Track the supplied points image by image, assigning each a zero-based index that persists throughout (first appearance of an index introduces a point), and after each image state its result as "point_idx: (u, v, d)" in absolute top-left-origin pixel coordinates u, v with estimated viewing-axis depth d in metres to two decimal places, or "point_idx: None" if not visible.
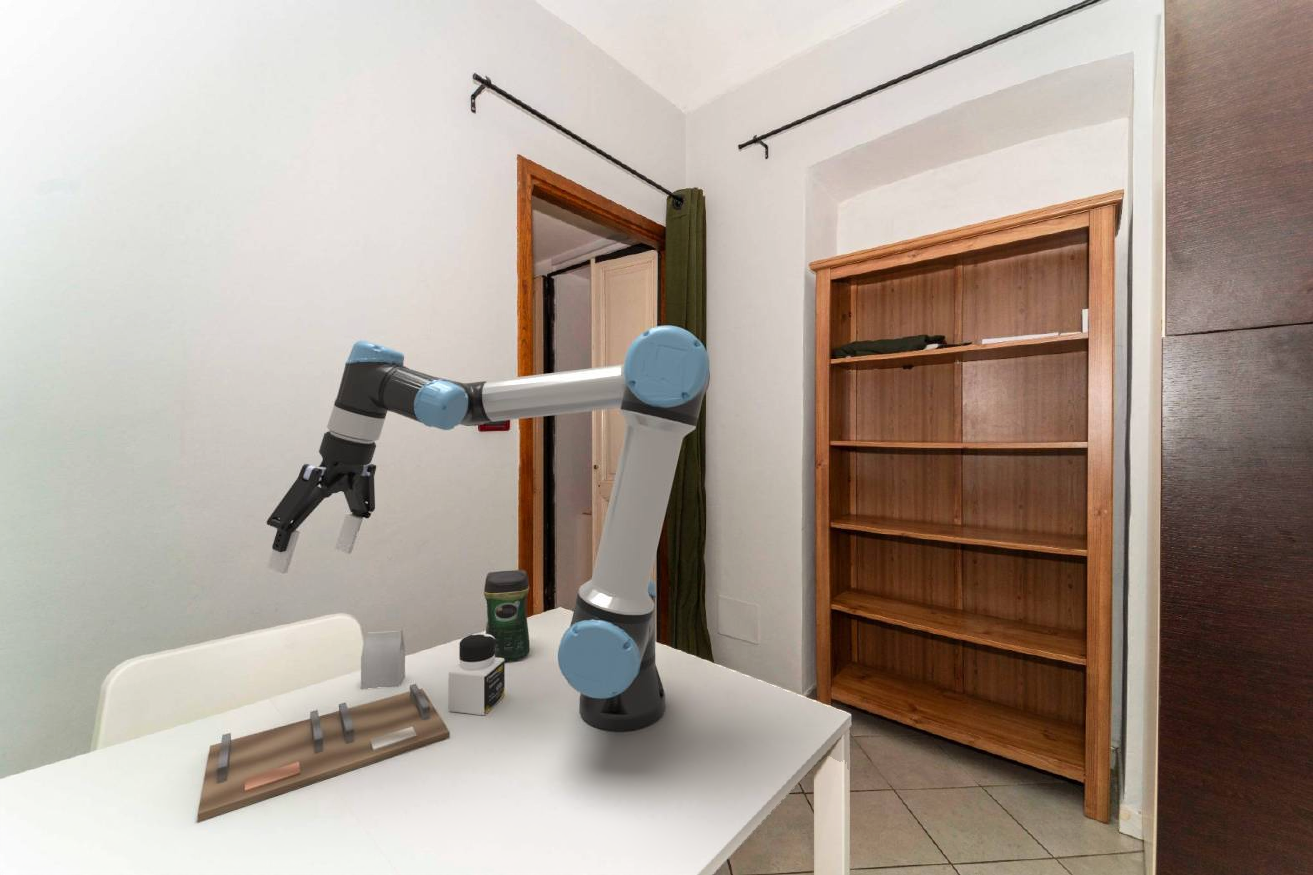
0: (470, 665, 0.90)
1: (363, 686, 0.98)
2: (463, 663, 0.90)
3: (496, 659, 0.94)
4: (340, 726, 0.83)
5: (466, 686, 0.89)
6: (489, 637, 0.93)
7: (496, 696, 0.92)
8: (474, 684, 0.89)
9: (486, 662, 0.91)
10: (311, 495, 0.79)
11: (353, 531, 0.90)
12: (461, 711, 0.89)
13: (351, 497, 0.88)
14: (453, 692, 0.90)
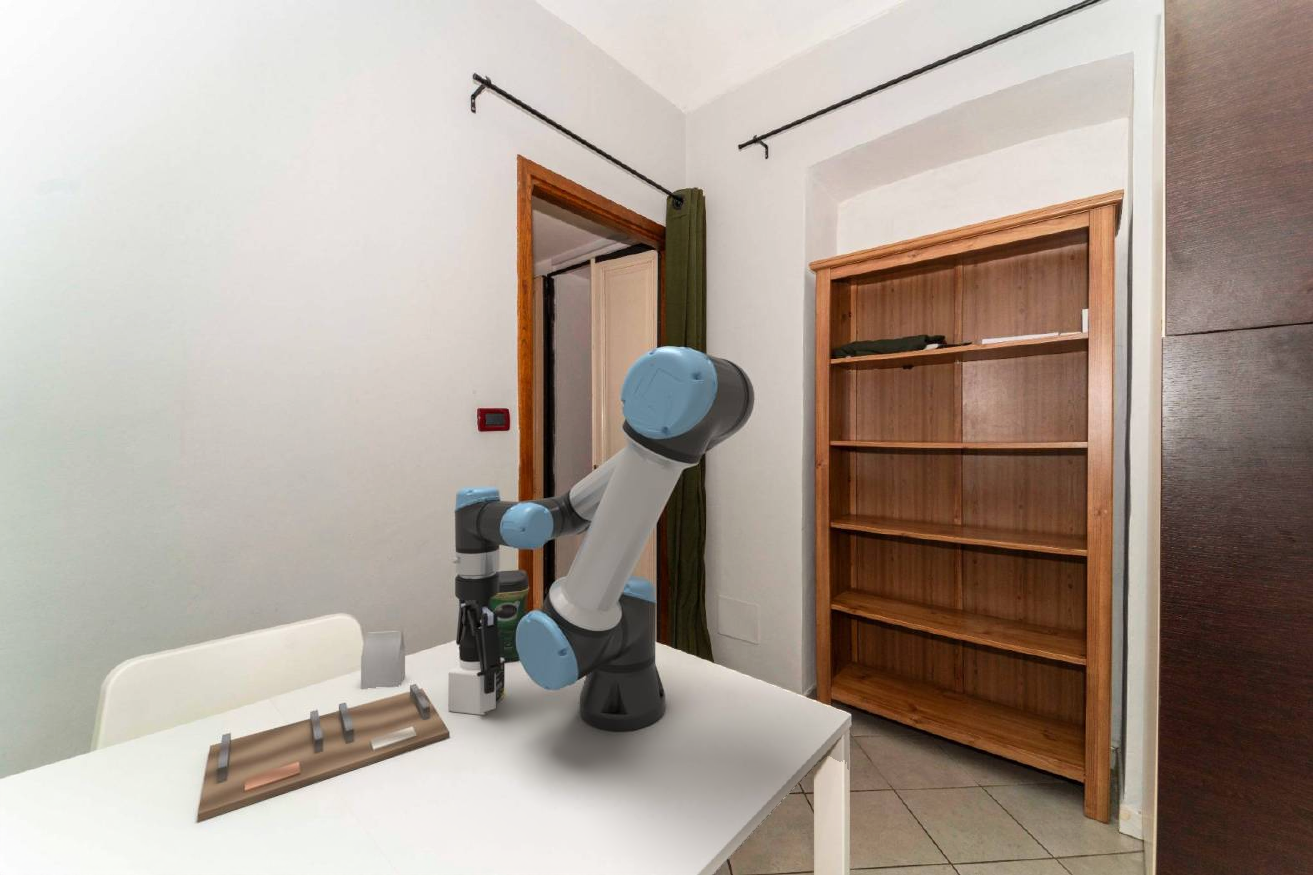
0: (470, 665, 0.90)
1: (363, 686, 0.98)
2: (463, 663, 0.90)
3: None
4: (340, 726, 0.83)
5: (466, 686, 0.89)
6: None
7: (496, 696, 0.92)
8: (474, 684, 0.89)
9: None
10: None
11: None
12: (461, 711, 0.89)
13: None
14: (453, 692, 0.90)
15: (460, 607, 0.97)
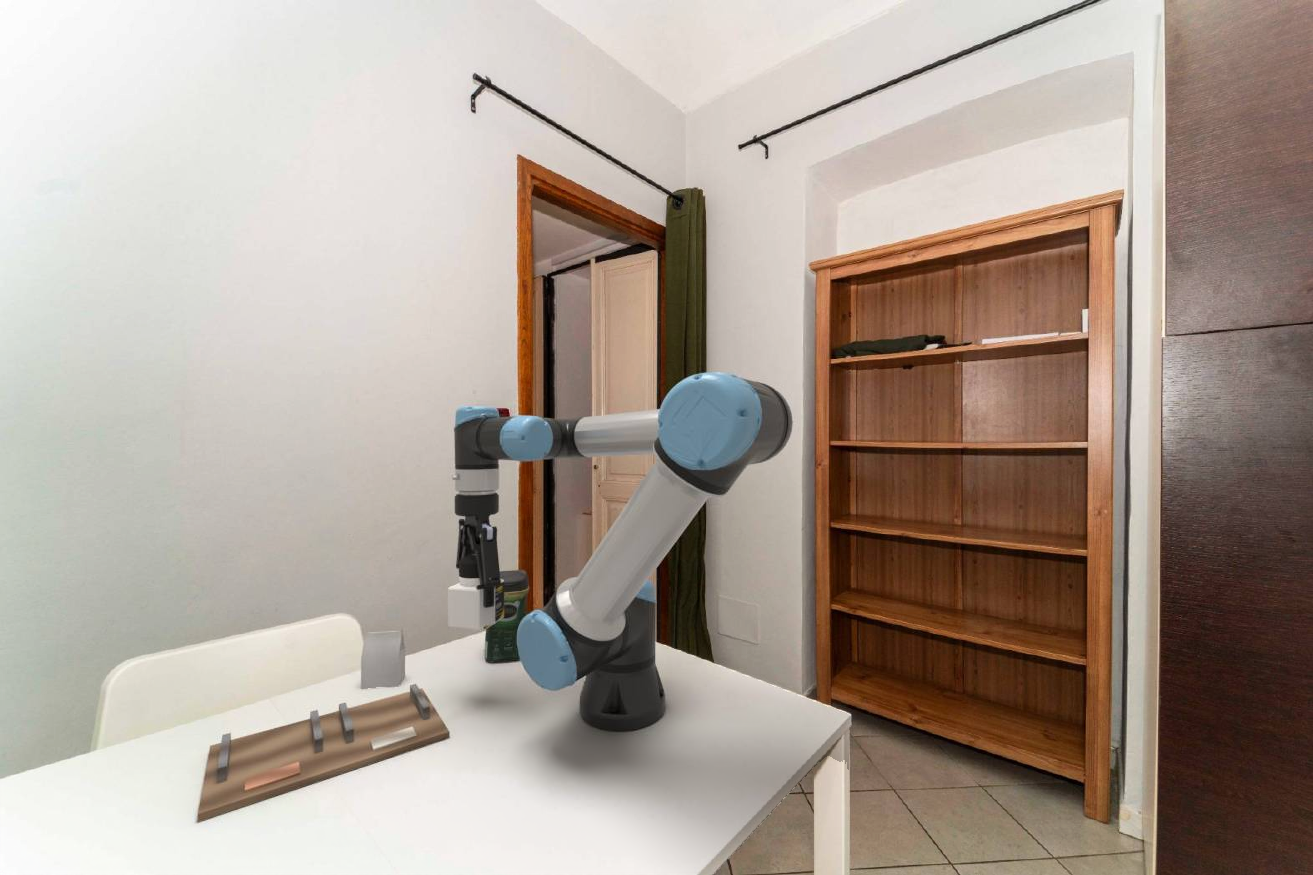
0: (469, 581, 0.90)
1: (363, 686, 0.98)
2: (462, 580, 0.90)
3: None
4: (340, 726, 0.83)
5: (465, 602, 0.89)
6: None
7: (496, 615, 0.92)
8: (473, 600, 0.89)
9: None
10: None
11: None
12: (460, 627, 0.89)
13: (472, 552, 0.95)
14: (452, 608, 0.90)
15: (460, 529, 0.97)
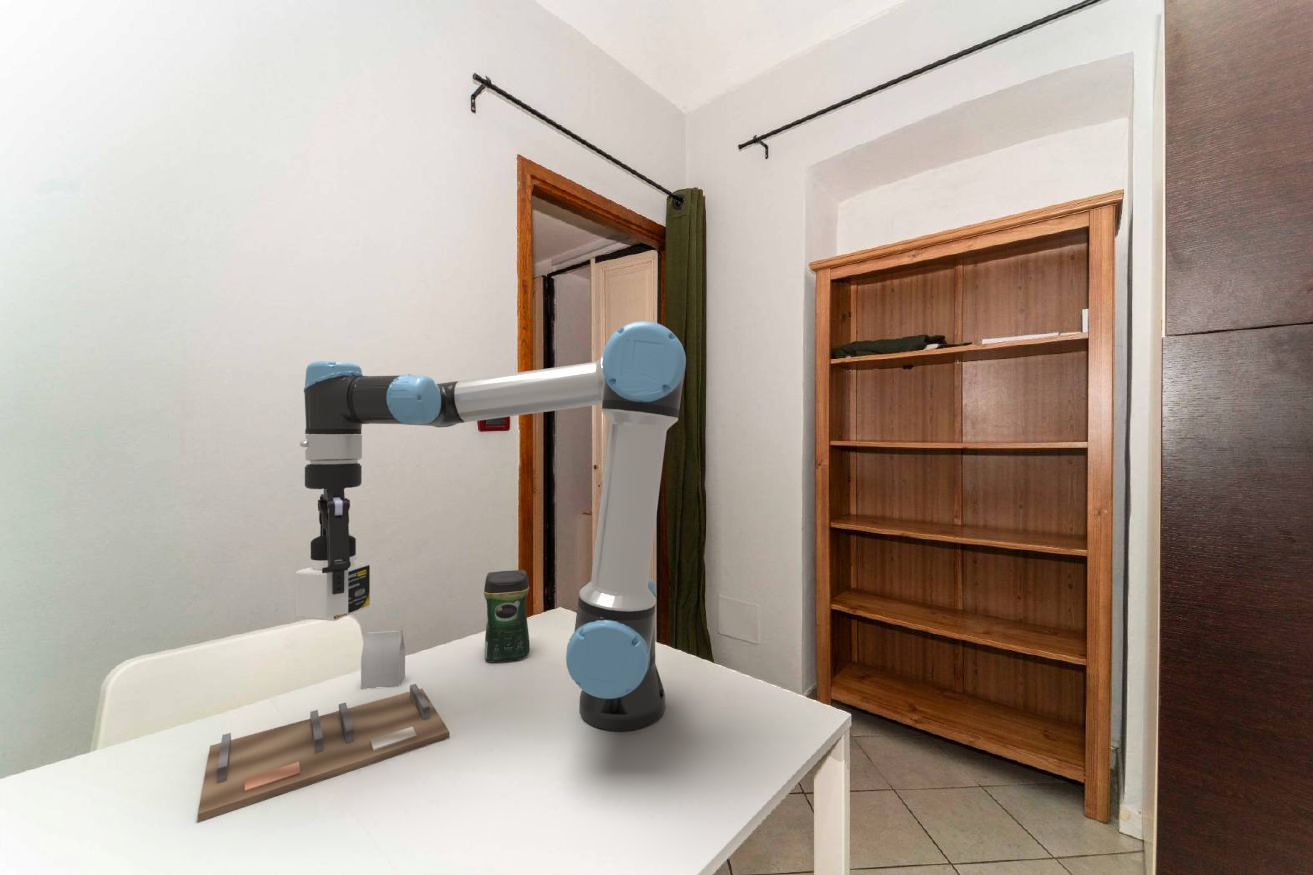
0: (319, 564, 0.77)
1: (363, 686, 0.98)
2: (313, 562, 0.78)
3: (358, 563, 0.82)
4: (340, 726, 0.83)
5: (314, 588, 0.77)
6: None
7: (355, 604, 0.80)
8: (323, 585, 0.76)
9: None
10: None
11: None
12: (309, 617, 0.77)
13: None
14: (300, 595, 0.77)
15: None
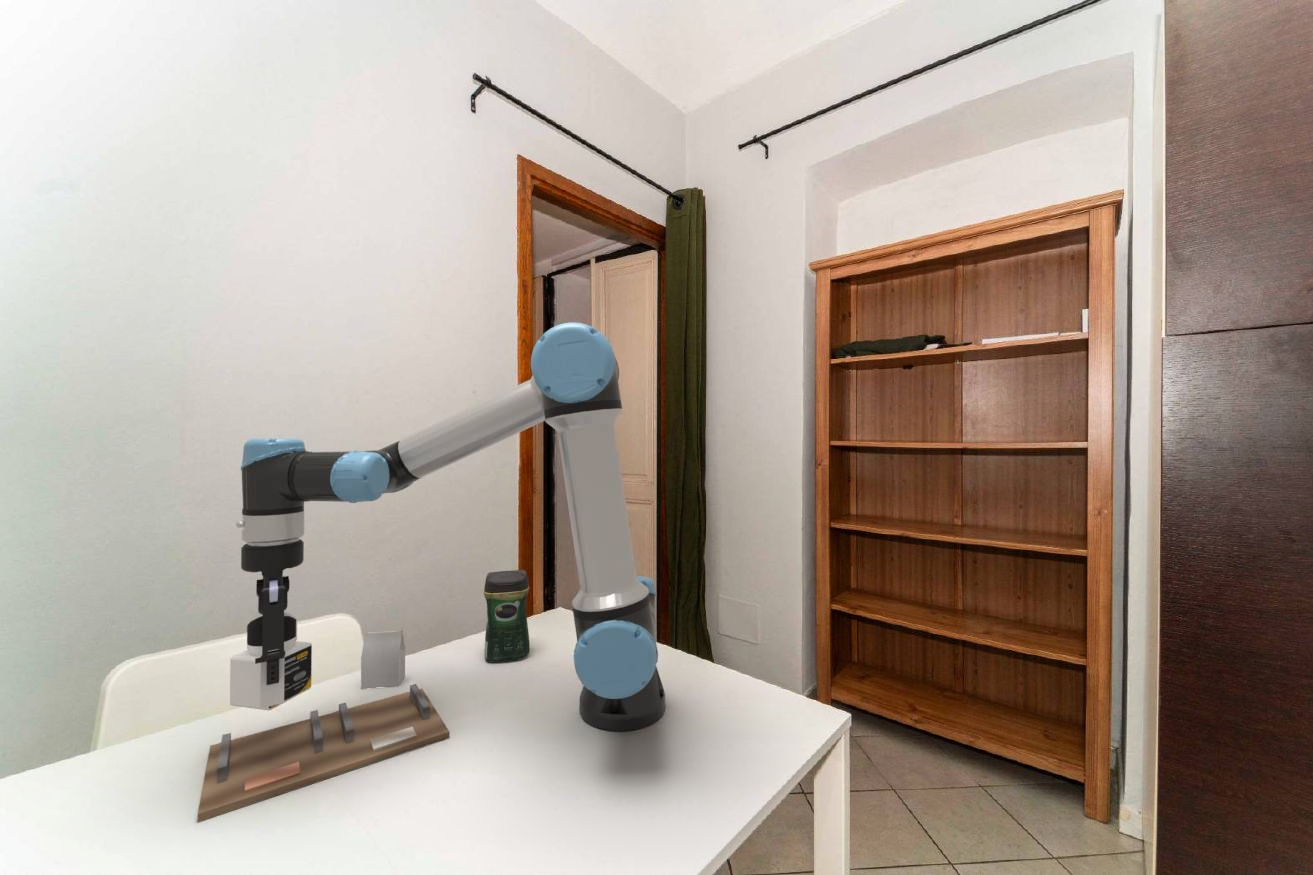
0: (255, 650, 0.74)
1: (363, 686, 0.98)
2: (248, 647, 0.75)
3: (299, 644, 0.79)
4: (340, 726, 0.83)
5: (249, 675, 0.74)
6: (287, 616, 0.77)
7: (294, 688, 0.77)
8: (258, 673, 0.73)
9: None
10: None
11: None
12: (243, 705, 0.74)
13: None
14: (235, 682, 0.74)
15: None
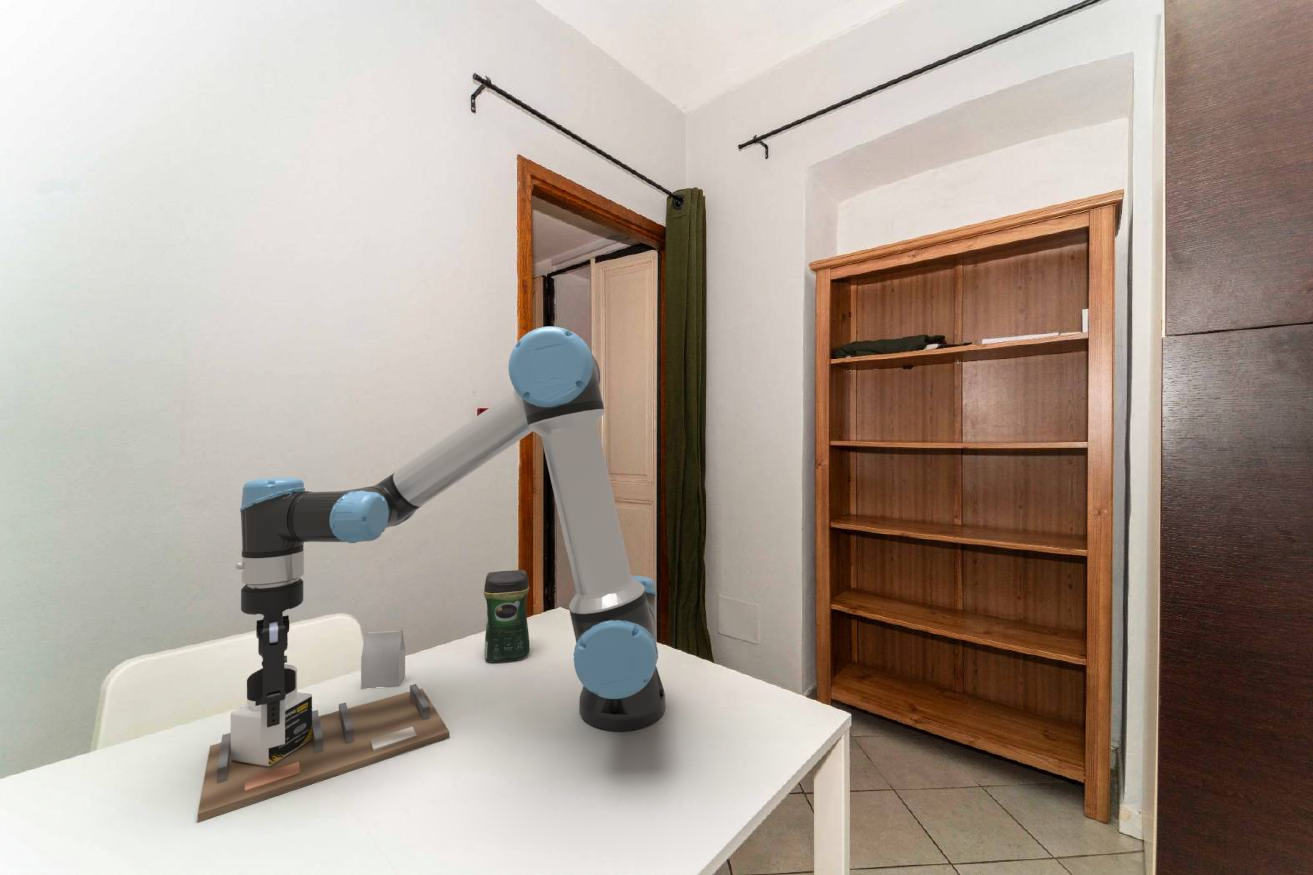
0: None
1: (363, 686, 0.98)
2: (248, 702, 0.74)
3: (299, 695, 0.79)
4: (340, 726, 0.83)
5: (249, 730, 0.73)
6: (286, 669, 0.77)
7: (295, 741, 0.76)
8: (257, 728, 0.73)
9: None
10: None
11: None
12: (244, 761, 0.74)
13: None
14: (235, 738, 0.74)
15: None
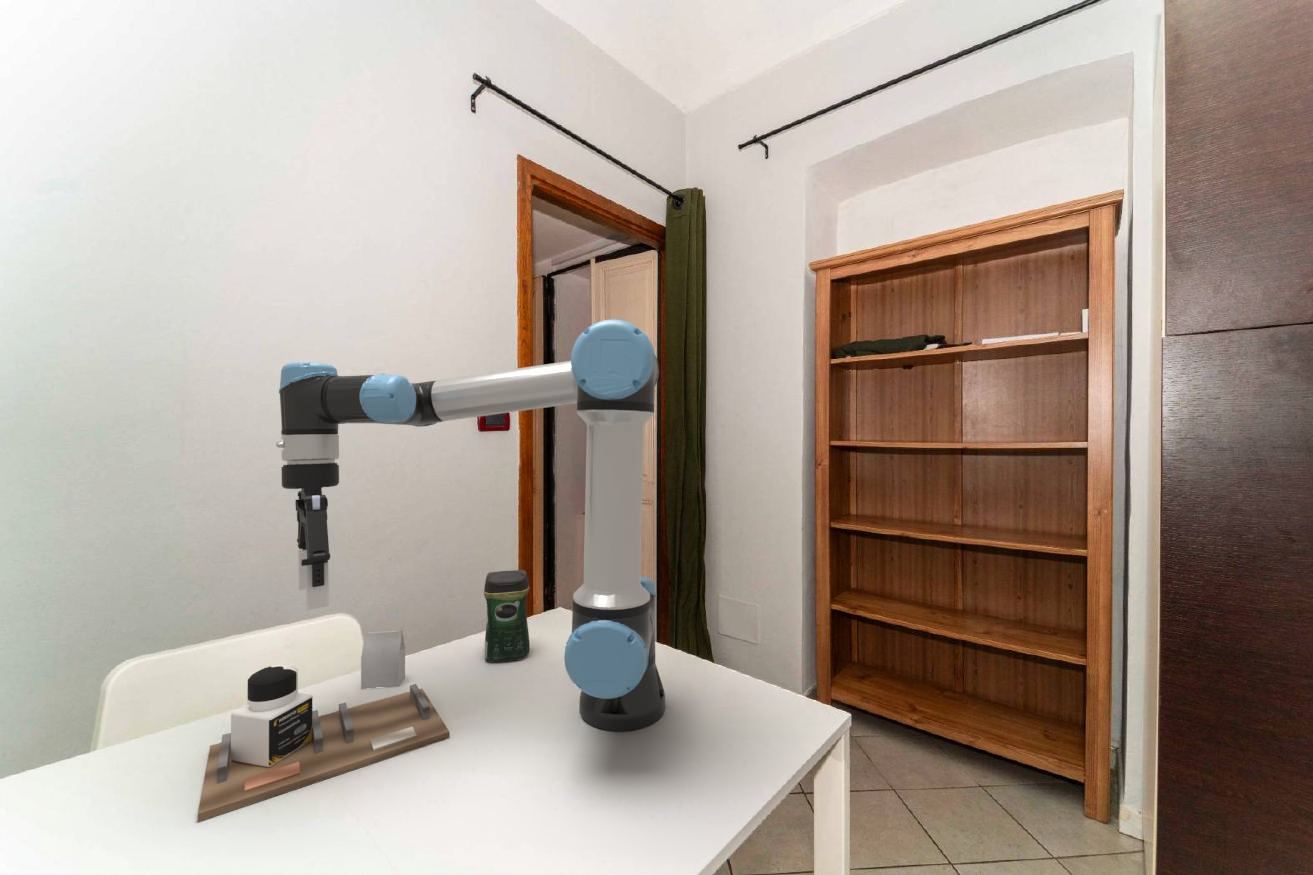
0: (255, 705, 0.74)
1: (363, 686, 0.98)
2: (249, 703, 0.74)
3: (300, 696, 0.78)
4: (340, 726, 0.83)
5: (249, 731, 0.73)
6: (287, 670, 0.77)
7: (295, 742, 0.76)
8: (258, 729, 0.73)
9: (278, 701, 0.75)
10: None
11: None
12: (244, 761, 0.74)
13: None
14: (235, 738, 0.74)
15: None
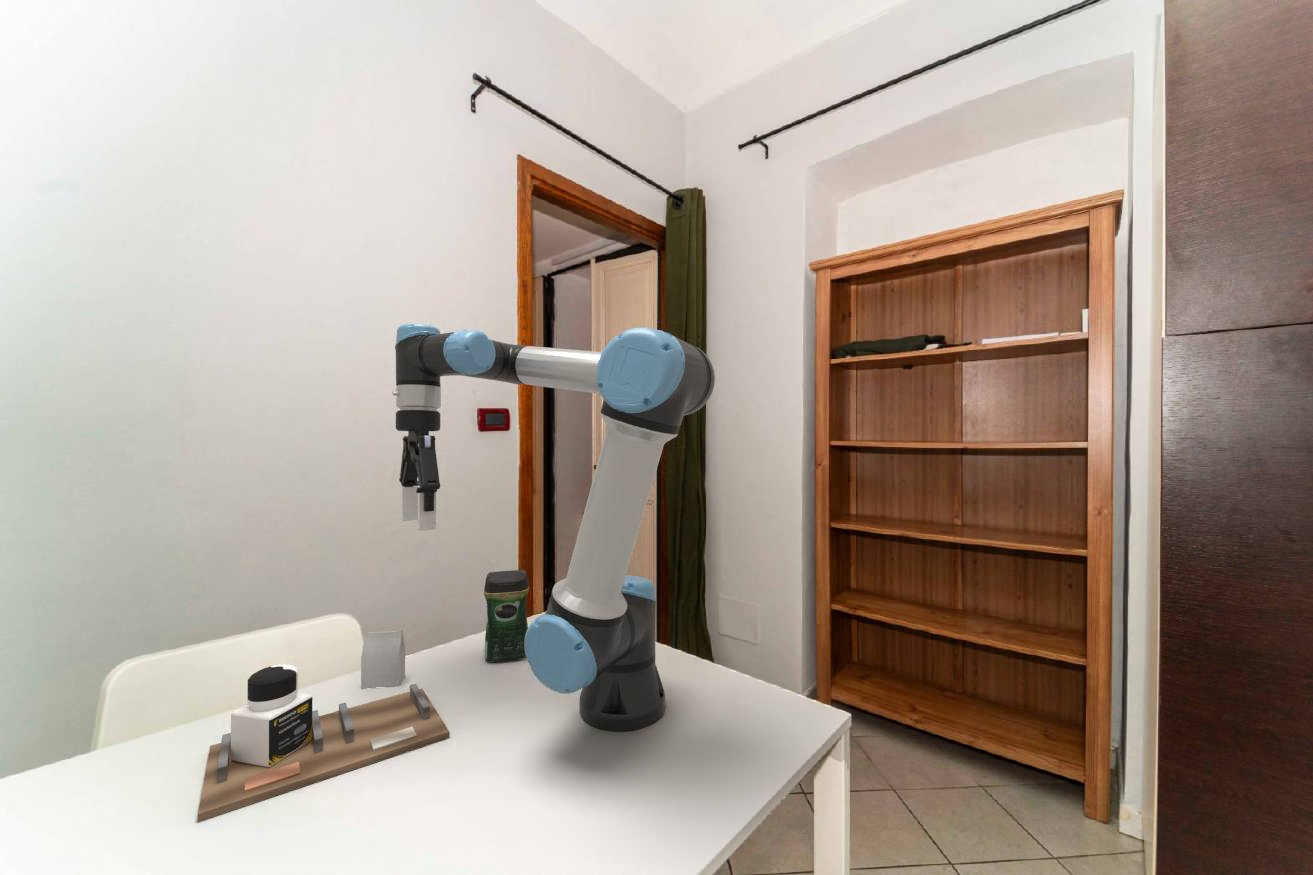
0: (255, 705, 0.74)
1: (363, 686, 0.98)
2: (249, 703, 0.74)
3: (300, 696, 0.78)
4: (340, 726, 0.83)
5: (249, 731, 0.73)
6: (287, 670, 0.77)
7: (295, 742, 0.76)
8: (258, 729, 0.73)
9: (278, 701, 0.75)
10: None
11: (416, 499, 1.01)
12: (244, 761, 0.74)
13: (414, 468, 0.99)
14: (235, 738, 0.74)
15: (403, 446, 0.99)
